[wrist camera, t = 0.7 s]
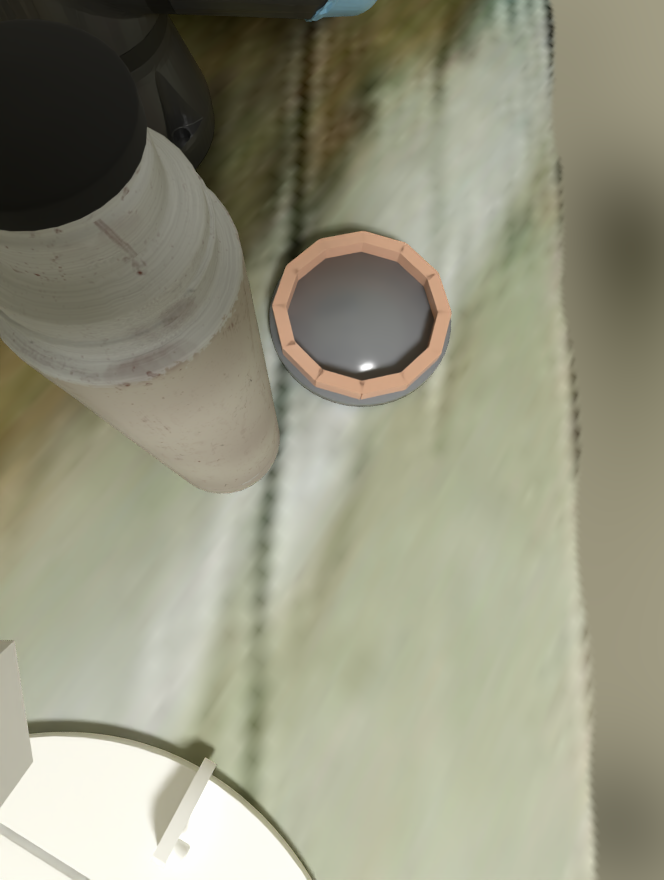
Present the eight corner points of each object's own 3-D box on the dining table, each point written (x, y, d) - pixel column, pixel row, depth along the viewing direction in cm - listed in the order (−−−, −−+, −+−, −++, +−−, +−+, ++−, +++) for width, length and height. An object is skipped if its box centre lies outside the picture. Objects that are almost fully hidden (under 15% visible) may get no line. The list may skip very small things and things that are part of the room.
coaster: (253, 260, 41) (251, 245, 39) (420, 229, 43) (425, 213, 41) (292, 424, 38) (291, 416, 36) (470, 384, 39) (479, 375, 37)
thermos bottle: (150, 420, 38) (-258, 32, 10) (247, 369, 39) (106, -93, 12) (201, 514, 36) (-121, 347, 9) (299, 458, 37) (279, 164, 10)
